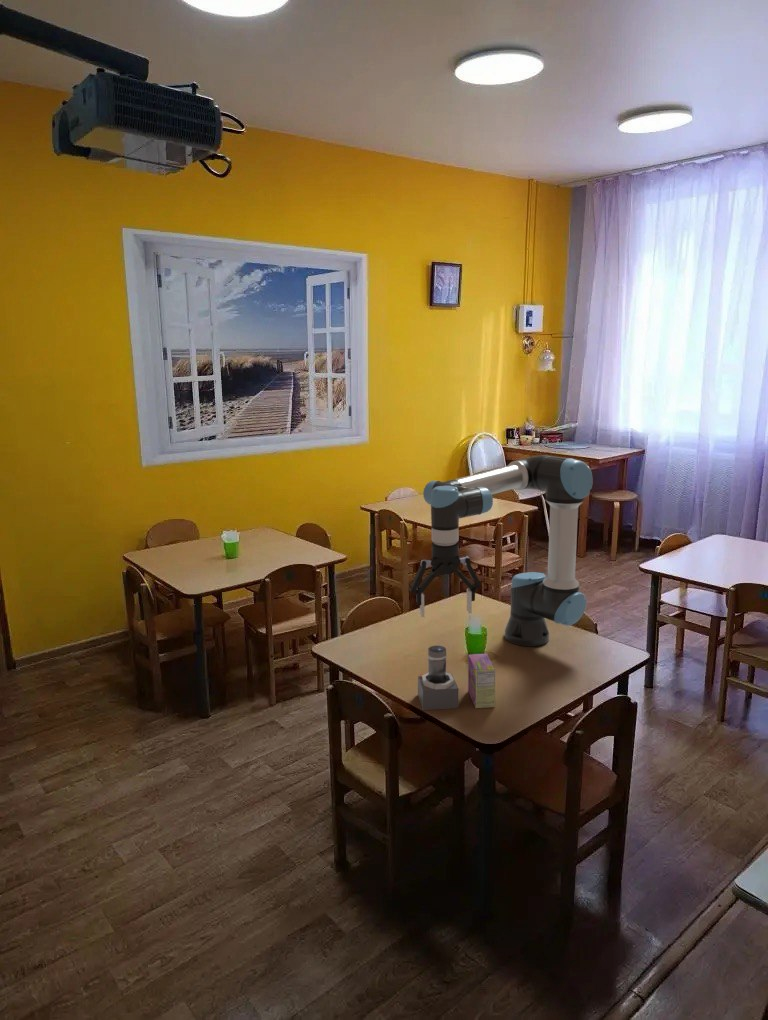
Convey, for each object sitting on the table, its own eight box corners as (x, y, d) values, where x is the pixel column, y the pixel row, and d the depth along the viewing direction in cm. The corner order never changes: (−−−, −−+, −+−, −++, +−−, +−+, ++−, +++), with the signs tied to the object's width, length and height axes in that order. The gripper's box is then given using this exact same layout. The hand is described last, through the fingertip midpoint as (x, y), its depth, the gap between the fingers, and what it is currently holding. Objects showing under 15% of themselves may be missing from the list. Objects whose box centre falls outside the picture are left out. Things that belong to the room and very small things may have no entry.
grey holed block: (451, 692, 201) (451, 669, 200) (458, 708, 193) (458, 684, 191) (417, 694, 200) (417, 672, 199) (423, 710, 192) (423, 686, 190)
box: (467, 691, 202) (468, 654, 200) (486, 690, 203) (487, 653, 200) (474, 709, 192) (475, 670, 190) (494, 708, 193) (496, 669, 190)
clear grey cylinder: (444, 677, 198) (444, 644, 196) (448, 685, 193) (448, 652, 191) (426, 678, 197) (426, 645, 195) (430, 686, 192) (429, 653, 190)
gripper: (485, 535, 196) (485, 605, 201) (398, 541, 193) (400, 611, 198) (492, 542, 188) (492, 615, 194) (402, 548, 186) (404, 621, 191)
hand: (445, 613), depth 196 cm, fingers open, 13 cm apart
